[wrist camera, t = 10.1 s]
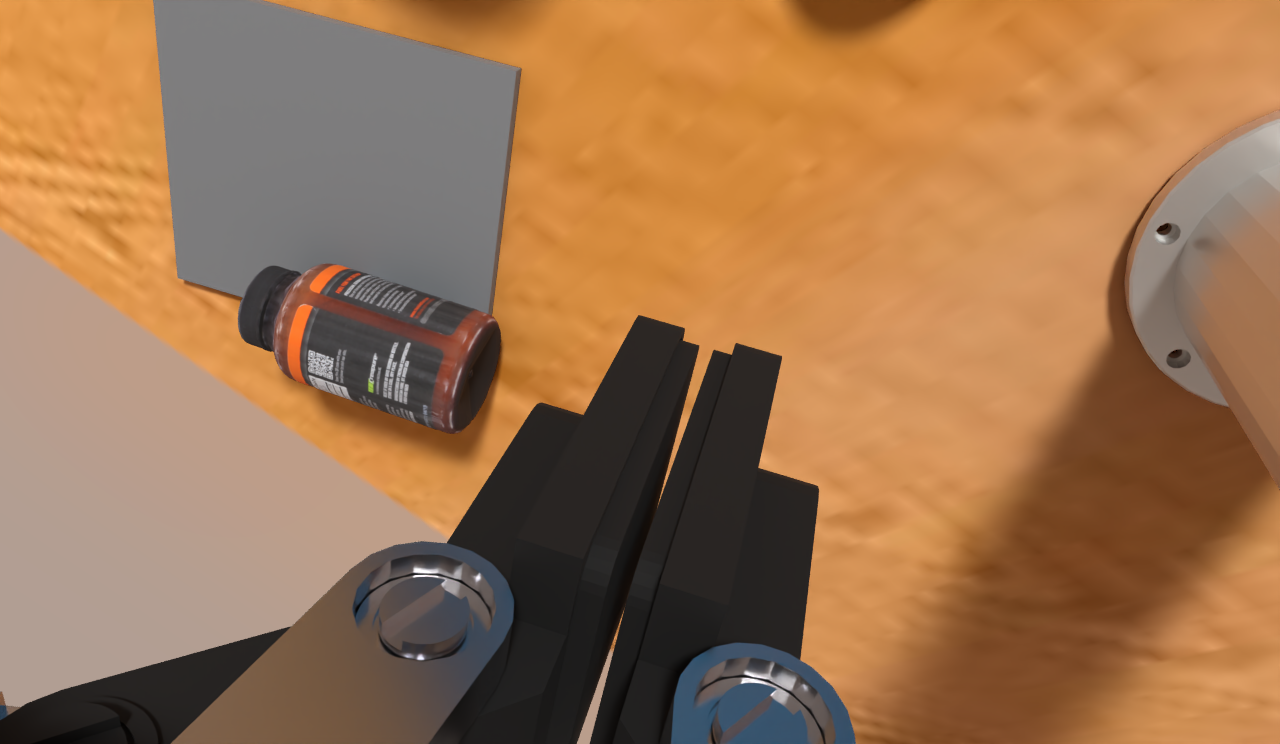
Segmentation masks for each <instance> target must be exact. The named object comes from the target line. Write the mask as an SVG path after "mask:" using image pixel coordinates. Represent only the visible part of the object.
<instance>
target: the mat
mask: <svg viewBox="0 0 1280 744" xmlns="http://www.w3.org/2000/svg"><path fill="white" fill-rule="evenodd" d="M153 2H154V14H155V25H156V36H157V48H158V59H159V70H160V82H161V93H162V104H163V116H164V127H165V138H166V150H167V161H168V172H169V184H170V195H171V206H172V218H173V229H174V240H175V252H176V263H177V274H178V278H180V279H183V280H186V281H190V282H193V283H196V284H200V285H203V286H206V287H210V288H213V289H216V290H220V291H223V292H226V293H230V294H233V295H236V296H239V297H243V295H244V292H245V291H246V288H247V287H248V285H249V283H250V282H251V280H252V279H253V278H254V277H255V276H256V275H257V274H258V273H259V272H260V271H261V270H262V269H264V268H266V267H268V266H279V267H282V268H285V269H289V270H294V271H298V272H300V273H301V275H302V274H303V273H305V272H306V271H307V270H309V269H310V268H312V267H314V266H317V265H320V264H326V263H327V264H329V263H330V264H337V265H341V266H344V267H347V268H350V269H353V270H356V271H360V272H363V273H367V274H369V275H372V276H375V277H379V278H381V279H384V280H387V281H390V282H393V283H397V284H400V285H403V286H406V287H409V288H412V289H415V290H418V291H421V292H424V293H427V294H430V295H433V296H436V297H439V298H442V299H445V300H448V301H452V302H454V303H458V304H461V305H464V306H467V307H470V308H474V309H477V310H478V311H480V312H484V313H486V314H489V315H491V316H492V310H493V302H494V293H495V285H496V277H497V268H498V260H499V252H500V243H501V235H502V226H503V218H504V210H505V201H506V193H507V185H508V176H509V168H510V159H511V151H512V143H513V134H514V126H515V118H516V109H517V101H518V92H519V84H520V76H521V68H518V67H514V66H510V65H506V64H503V63H499V62H495V61H491V60H487V59H484V58H480V57H476V56H472V55H468V54H464V53H461V52H457V51H453V50H449V49H445V48H442V47H438V46H434V45H430V44H426V43H423V42H419V41H415V40H411V39H407V38H404V37H400V36H396V35H392V34H388V33H385V32H381V31H377V30H373V29H369V28H366V27H362V26H358V25H354V24H350V23H347V22H343V21H339V20H335V19H331V18H328V17H324V16H320V15H316V14H312V13H309V12H305V11H301V10H297V9H293V8H290V7H286V6H282V5H278V4H274V3H270V2H267V1H263V0H153Z"/></svg>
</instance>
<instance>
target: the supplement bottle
mask: <svg viewBox="0 0 1280 744" xmlns="http://www.w3.org/2000/svg"><path fill="white" fill-rule="evenodd" d="M238 327H239V332H240V334H241V337H242V338H243V339H244V340H245V342H247V343H249V344H251V345H254V346H257V347H260V348H263V349H264V350H267V351H270V352H271V351H273V352H274V355H275V359H276V361H277V364H278V365H279V367H280V369H281V370H282V371H283V373H284V374H285V375H287V376H288V377H289V378H291V379H293V380H296V381H298V382H300V383H303V384H306V385H309V386H313V387H315V388H317V389H320V390H323V391H326V392H329V393H332V394H335V395H338V396H341V397H344V398H346V399H349V400H352V401H355V402H358V403H361V404H364V405H367V406H370V407H372V408H375V409H378V410H381V411H384V412H387V413H389V414H393V415H396V416H398V417H401V418H404V419H407V420H410V421H413V422H416V423H419V424H422V425H424V426H427V427H430V428H433V429H437V430H440V431H443V432H446V433H450V434H454V433H458V432H461V431H462V430H463V429H464V428H465V427H466V426H468V425H469V424H470V422H471V420H473V419H474V417H475V416H476V414H477V413H478V411H479V409H480V408H481V406H482V404H483V402H484V400H485V398H486V396H487V393H488V390H489V387H490V384H491V382H492V379H493V376H494V373H495V370H496V366H497V362H498V357H499V352H500V342H501V332H500V329H499V326H498V323H497V321H496V320H495V318H494V317H492V316H491V315H489V314H486V313H484V312H480V311H478V310H477V309H474V308H470V307H467V306H464V305H461V304H458V303H454V302H452V301H448V300H445V299H442V298H439V297H436V296H433V295H430V294H427V293H424V292H421V291H418V290H415V289H412V288H409V287H406V286H403V285H400V284H397V283H393V282H390V281H387V280H384V279H381V278H379V277H375V276H372V275H369V274H367V273H363V272H360V271H356V270H353V269H350V268H347V267H344V266H341V265H337V264H330V263H329V264H327V263H326V264H320V265H317V266H314V267H312V268H310V269H309V270H307V271H306V272H305V273H303V274H302V275H301V273H300V272H298V271H294V270H289V269H285V268H282V267H279V266H268V267H266V268H264V269H262V270H261V271H260V272H259V273H258V274H257V275H256V276H255V277H254V278H253V279H252V280H251V282H250V283H249V285H248V287H247V288H246V291H245V292H244V295H243V298H242V300H241V302H240V307H239V311H238Z"/></svg>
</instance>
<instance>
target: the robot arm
mask: <svg viewBox="0 0 1280 744" xmlns="http://www.w3.org/2000/svg"><path fill="white" fill-rule="evenodd" d="M1165 223H1169V225H1168V227H1167V229H1166V230H1163V231H1156V230H1157V229H1158V228H1159V226H1161V225H1163V224H1165ZM1124 286H1125V295H1126V304H1127V311H1128V313H1129V316H1130V319H1131V322H1132V324H1133V327H1134V330H1135V332H1136V335H1137V336H1138V338H1139V340H1140V342H1141V343H1142V345H1143V347H1144V349H1145V351H1146V353H1147V354H1148V356H1149V357H1150V358H1151V359H1152V361H1153V362H1154V363H1155V364H1156V365H1157V367H1158V368H1159V369H1160V370H1161V371H1162V372H1163V373H1164V374H1165V375H1166V376H1168V377H1169V378H1170V379H1172V380H1173V381H1174V382H1176V383H1177V384H1178V385H1180V386H1181V387H1182V388H1184V389H1185V390H1186V391H1189V392H1191V393H1193V394H1195V395H1197V396H1199V397H1201V398H1203V399H1205V400H1207V401H1209V402H1211V403H1214V404H1218V405H1221V406H1225V407H1228V408H1230V409H1231V410H1232V412H1233V414H1234V415H1235V417H1236V419H1237V420H1238V422H1239V424H1240V425H1241V427H1242V429H1243V430H1244V432H1245V433H1246V435H1247V437H1248V438H1249V440H1250V442H1251V443H1252V445H1253V447H1254V448H1255V450H1256V452H1257V453H1258V455H1259V457H1260V458H1261V460H1262V462H1263V463H1264V465H1265V467H1266V468H1267V470H1268V472H1269V473H1270V475H1271V476H1272V478H1273V480H1274V481H1275V483H1276V485H1277V486H1278V488H1279V490H1280V110H1278V111H1274V112H1272V113H1270V114H1267V115H1265V116H1263V117H1260V118H1258V119H1256V120H1254V121H1251V122H1249V123H1247V124H1245V125H1242V126H1240V127H1238V128H1236V129H1234V130H1233V131H1231V132H1230V133H1228V134H1226V135H1225V136H1223V137H1222V138H1220V139H1219V140H1217V141H1215V142H1214V143H1212V144H1211V145H1209V146H1207V147H1206V148H1204V149H1203V150H1202V151H1201V152H1200V153H1198V154H1197V155H1196V156H1195V157H1194V158H1193V159H1191V160H1190V161H1189V162H1188V163H1187V164H1186V165H1184V166H1183V167H1182V168H1181V169H1180V170H1179V171H1177V172H1176V173H1175V175H1174V176H1173V177H1172V178H1171V179H1170V181H1169V182H1168V183H1167V184H1166V185H1165V186H1164V188H1163V189H1162V190H1161V191H1160V192H1159V194H1158V195H1157V196H1156V197H1155V198H1154V200H1153V201H1152V203H1151V205H1150V206H1149V208H1148V210H1147V212H1146V213H1145V215H1144V217H1143V219H1142V220H1141V222H1140V224H1139V225H1138V227H1137V230H1136V233H1135V236H1134V239H1133V241H1132V244H1131V247H1130V250H1129V253H1128V256H1127V264H1126V273H1125V281H1124ZM684 332H685V328H682V327H679V326H675V325H672V324H668V323H665V322H661V321H658V320H654V319H651V318H647V317H644V316H640V315H638V317H637V318H636V320H635V322H634V324H633V325H632V327H631V329H630V331H629V333H628V335H627V336H626V338H625V340H624V342H623V344H622V346H621V347H620V349H619V351H618V353H617V355H616V357H615V358H614V360H613V362H612V364H611V366H610V368H609V369H608V371H607V373H606V375H605V377H604V379H603V380H602V382H601V384H600V386H599V388H598V390H597V391H596V393H595V395H594V397H593V399H592V401H591V402H590V404H589V406H588V408H587V410H586V412H585V413H584V415H581V414H578V413H575V412H571V411H568V410H565V409H561V408H558V407H555V406H551V405H548V404H545V403H539V404H537V405H536V406H535V407H534V409H533V410H532V411H531V413H530V414H529V416H528V417H527V419H526V420H525V422H524V424H523V425H522V427H521V428H520V430H519V431H518V433H517V434H516V436H515V438H514V439H513V441H512V442H511V444H510V445H509V447H508V448H507V450H506V452H505V453H504V455H503V456H502V458H501V459H500V461H499V462H498V464H497V466H496V467H495V469H494V470H493V472H492V473H491V475H490V476H489V478H488V480H487V481H486V483H485V484H484V486H483V487H482V489H481V490H480V492H479V494H478V495H477V497H476V498H475V500H474V501H473V503H472V505H471V506H470V508H469V509H468V511H467V512H466V514H465V515H464V517H463V519H462V520H461V522H460V523H459V525H458V526H457V528H456V529H455V531H454V533H453V534H452V536H451V537H450V539H449V540H448V542H447V543H437V542H424V541H421V542H414V543H406V544H398V545H394V546H392V547H389V548H386V549H384V550H381V551H378V552H376V553H373V554H371V555H369V556H368V557H367V558H365V559H364V560H363V561H361V562H360V563H358V564H357V565H356V566H354V567H353V568H351V569H350V570H349V572H347V573H346V574H345V575H344V576H343V577H342V578H341V579H340V580H339V581H338V582H337V583H336V584H335V585H334V586H333V587H332V588H331V589H330V590H329V591H328V592H327V593H326V594H325V595H323V597H321V598H320V599H319V600H318V601H317V602H316V603H315V604H314V605H313V606H312V607H311V608H310V609H309V610H308V611H307V612H306V613H305V614H304V615H303V616H302V617H301V618H300V619H299V620H298V621H297V622H296V623H295V624H294V625H293V626H291V627H287V628H284V629H280V630H276V631H273V632H269V633H265V634H262V635H258V636H255V637H251V638H248V639H244V640H240V641H237V642H233V643H229V644H226V645H222V646H219V647H215V648H211V649H208V650H205V651H201V652H197V653H193V654H190V655H186V656H183V657H179V658H176V659H172V660H168V661H164V662H161V663H158V664H154V665H150V666H146V667H143V668H139V669H136V670H132V671H128V672H125V673H121V674H118V675H114V676H110V677H107V678H103V679H100V680H96V681H92V682H89V683H85V684H82V685H78V686H75V687H71V688H68V689H64V690H60V691H58V692H55V693H53V694H50V695H48V696H45V697H42V698H40V699H37V700H35V701H32V702H29V703H27V704H25V705H24V706H22V707H14V706H6V705H5V701H4V697H3V694H2V692H0V744H577V741H578V738H579V735H580V732H581V730H582V727H583V724H584V721H585V718H586V716H587V713H588V710H589V707H590V704H591V701H592V699H593V695H594V693H595V690H596V687H597V684H598V681H599V679H600V676H601V673H602V670H603V667H604V665H605V662H606V659H607V656H608V653H609V650H610V648H611V645H612V642H613V639H614V636H615V633H616V631H617V628H618V625H619V622H620V619H621V616H622V614H623V617H622V621H621V625H620V629H619V633H618V636H617V640H616V644H615V648H614V652H613V656H612V660H611V664H610V667H609V671H608V676H607V679H606V683H605V687H604V691H603V695H602V698H601V702H600V706H599V710H598V714H597V718H596V721H595V726H594V729H593V733H592V737H591V741H590V744H856V742H855V734H854V731H853V727H852V724H851V721H850V717H849V714H848V711H847V709H846V707H845V705H844V704H843V702H842V701H841V699H840V698H839V696H838V694H837V693H836V691H835V690H834V688H833V687H832V686H831V685H830V684H829V683H828V682H827V681H826V680H825V679H824V678H823V677H822V676H821V675H820V674H819V673H818V672H816V671H815V670H814V669H813V668H812V667H811V666H809V665H807V664H806V663H804V662H802V661H801V660H800V657H801V648H802V639H803V630H804V621H805V613H806V604H807V595H808V586H809V577H810V569H811V560H812V551H813V542H814V533H815V525H816V516H817V507H818V498H819V488H818V486H816V485H813V484H810V483H806V482H803V481H800V480H797V479H793V478H790V477H787V476H783V475H780V474H777V473H773V472H770V471H767V470H763V469H760V468H758V466H759V462H760V457H761V452H762V448H763V443H764V439H765V434H766V429H767V425H768V420H769V416H770V411H771V406H772V402H773V397H774V392H775V388H776V383H777V379H778V374H779V369H780V365H781V360H782V356H779V355H776V354H772V353H769V352H765V351H762V350H758V349H755V348H751V347H748V346H744V345H741V344H738V343H736V344H735V347H734V350H733V353H732V355H730V354H727V353H723V352H720V351H716V350H714V351H713V353H712V356H711V359H710V362H709V364H708V367H707V370H706V373H705V376H704V379H703V381H702V384H701V387H700V390H699V393H698V395H697V398H696V401H695V404H694V407H693V409H692V412H691V415H690V418H689V421H688V423H687V426H686V429H685V432H684V435H683V437H682V440H681V443H680V446H679V449H678V451H677V454H676V457H675V460H674V463H673V465H672V468H671V471H670V474H669V477H668V480H667V482H666V485H665V488H664V491H663V494H662V496H661V499H660V495H661V491H662V487H663V484H664V480H665V476H666V472H667V468H668V465H669V461H670V457H671V453H672V449H673V446H674V442H675V438H676V434H677V430H678V427H679V423H680V419H681V415H682V411H683V408H684V404H685V400H686V396H687V393H688V389H689V385H690V381H691V377H692V374H693V370H694V366H695V362H696V358H697V354H698V350H699V345H696V344H692V343H689V342H685V341H683V338H684ZM1177 349H1179V350H1178V351H1177V352H1175V353H1171V352H1172V351H1174V350H1177ZM659 499H660V502H659ZM658 503H659V505H658ZM657 506H658V508H657ZM624 608H625V609H624ZM623 611H624V613H623Z"/></svg>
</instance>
